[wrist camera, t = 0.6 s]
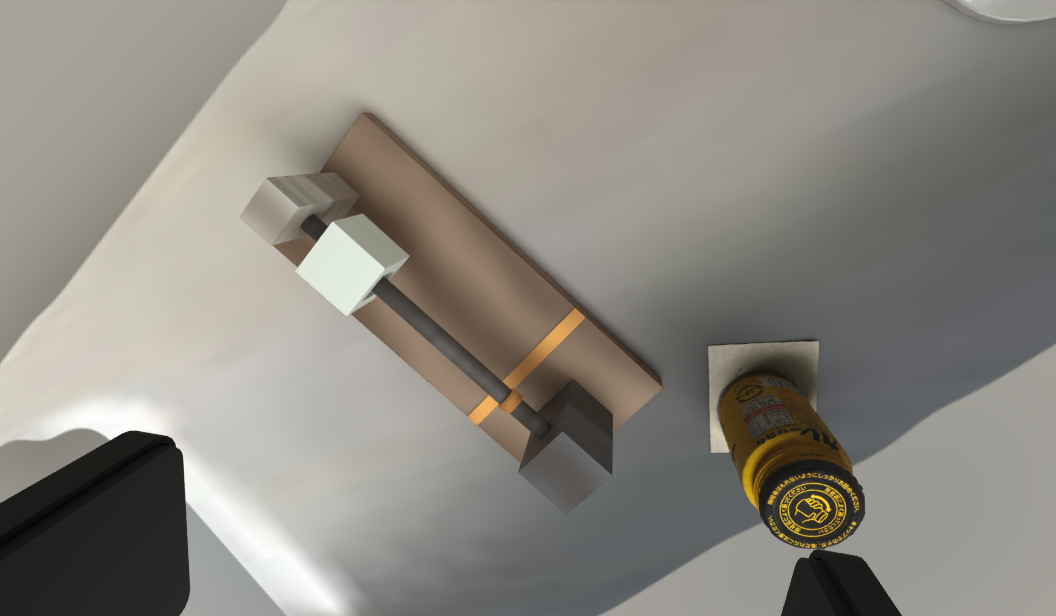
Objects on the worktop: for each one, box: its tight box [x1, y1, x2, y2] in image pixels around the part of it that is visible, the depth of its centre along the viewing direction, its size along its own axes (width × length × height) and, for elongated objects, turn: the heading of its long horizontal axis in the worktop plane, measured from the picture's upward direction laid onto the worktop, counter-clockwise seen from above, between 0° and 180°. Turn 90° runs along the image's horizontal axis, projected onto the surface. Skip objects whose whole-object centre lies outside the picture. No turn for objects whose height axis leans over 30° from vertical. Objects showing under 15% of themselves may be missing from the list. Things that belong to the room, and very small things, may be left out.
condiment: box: [708, 341, 865, 549], centre depth 35 cm, size 7×8×12 cm
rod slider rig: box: [239, 113, 663, 515], centre depth 37 cm, size 12×28×10 cm, turn 48°
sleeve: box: [296, 214, 409, 316], centre depth 35 cm, size 4×4×4 cm
